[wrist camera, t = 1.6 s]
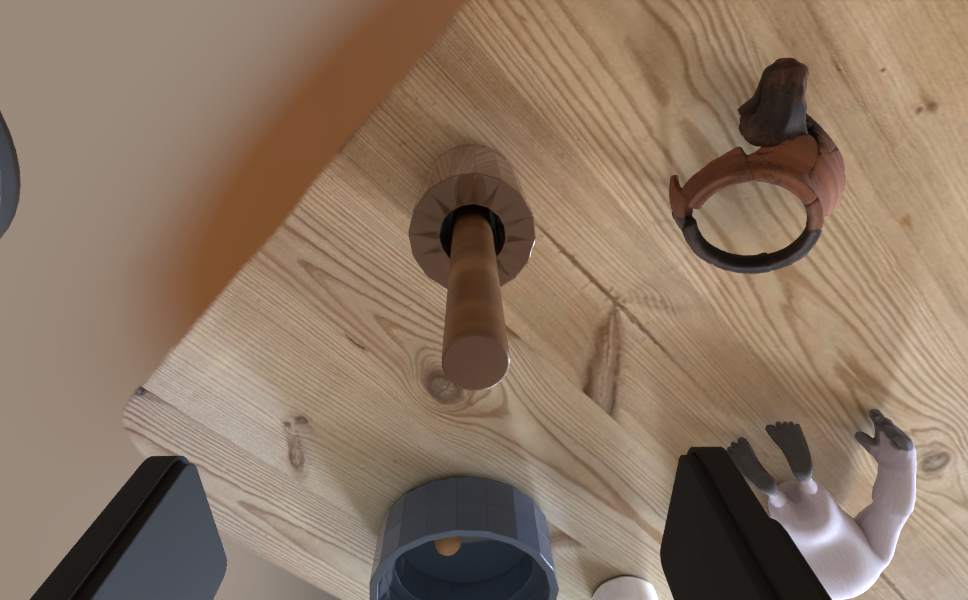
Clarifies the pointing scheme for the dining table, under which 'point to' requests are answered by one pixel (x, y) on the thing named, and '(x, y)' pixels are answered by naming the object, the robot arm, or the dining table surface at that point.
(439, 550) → the cork ball
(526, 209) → the holder
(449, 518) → the bowl
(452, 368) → the stick
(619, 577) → the can
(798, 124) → the broken pottery
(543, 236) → the dining table surface
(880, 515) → the yeti figurine
